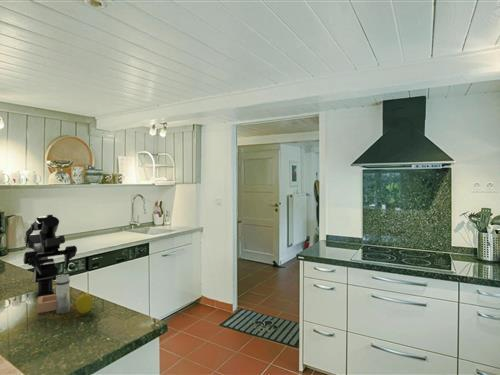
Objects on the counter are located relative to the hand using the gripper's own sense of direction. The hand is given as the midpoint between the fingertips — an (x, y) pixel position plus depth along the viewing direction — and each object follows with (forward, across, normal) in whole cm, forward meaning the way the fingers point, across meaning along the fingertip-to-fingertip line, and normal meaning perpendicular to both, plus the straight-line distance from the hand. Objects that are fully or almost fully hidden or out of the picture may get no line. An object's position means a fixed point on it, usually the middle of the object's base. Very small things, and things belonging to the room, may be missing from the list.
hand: (54, 271), depth 127 cm
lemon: (+24, +6, -6) cm, 25 cm away
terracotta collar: (+12, -2, +7) cm, 14 cm away
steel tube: (+18, 0, 0) cm, 18 cm away
